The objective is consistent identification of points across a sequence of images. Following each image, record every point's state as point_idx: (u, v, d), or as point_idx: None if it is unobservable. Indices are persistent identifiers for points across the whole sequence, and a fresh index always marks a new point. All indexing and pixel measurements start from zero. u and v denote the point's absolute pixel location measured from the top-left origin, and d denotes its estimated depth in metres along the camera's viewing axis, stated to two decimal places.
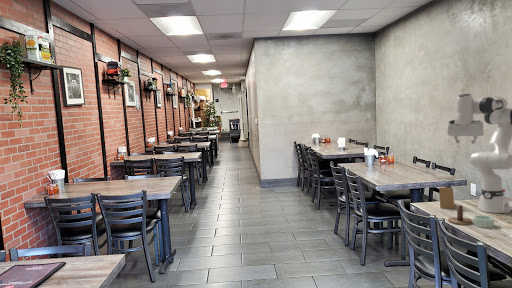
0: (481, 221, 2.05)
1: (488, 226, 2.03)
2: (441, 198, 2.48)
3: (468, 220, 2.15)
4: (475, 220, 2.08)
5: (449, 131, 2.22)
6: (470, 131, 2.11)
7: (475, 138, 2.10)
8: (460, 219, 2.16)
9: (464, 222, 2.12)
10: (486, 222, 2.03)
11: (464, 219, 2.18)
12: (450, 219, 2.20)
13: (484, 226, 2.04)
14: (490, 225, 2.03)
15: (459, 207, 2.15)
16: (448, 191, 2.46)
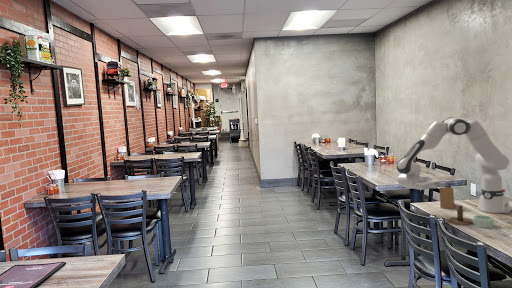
0: (481, 221, 2.05)
1: (488, 226, 2.03)
2: (441, 198, 2.48)
3: (468, 220, 2.15)
4: (475, 220, 2.08)
5: None
6: None
7: (430, 187, 2.25)
8: (460, 219, 2.16)
9: (464, 222, 2.12)
10: (486, 222, 2.03)
11: (464, 219, 2.18)
12: (450, 219, 2.20)
13: (484, 226, 2.04)
14: (490, 225, 2.03)
15: (459, 207, 2.15)
16: (448, 191, 2.46)
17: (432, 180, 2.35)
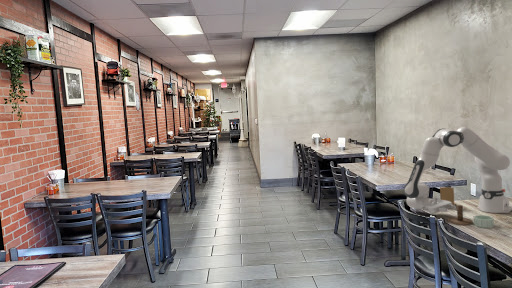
0: (481, 221, 2.05)
1: (488, 226, 2.03)
2: (442, 198, 2.49)
3: (468, 220, 2.15)
4: (475, 220, 2.08)
5: None
6: None
7: (440, 211, 2.21)
8: (460, 219, 2.16)
9: (464, 222, 2.12)
10: (486, 222, 2.03)
11: (464, 219, 2.18)
12: (450, 219, 2.20)
13: (484, 226, 2.04)
14: (490, 225, 2.03)
15: (459, 207, 2.15)
16: (448, 191, 2.46)
17: (442, 202, 2.31)
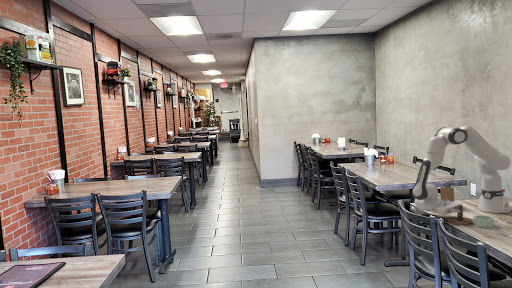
0: (481, 221, 2.05)
1: (488, 226, 2.03)
2: (442, 198, 2.49)
3: (468, 220, 2.15)
4: (475, 220, 2.08)
5: None
6: None
7: (452, 212, 2.17)
8: (460, 219, 2.16)
9: (464, 222, 2.12)
10: (486, 222, 2.03)
11: (464, 219, 2.18)
12: (450, 219, 2.20)
13: (484, 226, 2.04)
14: (490, 225, 2.03)
15: (459, 207, 2.15)
16: (449, 191, 2.47)
17: (452, 204, 2.26)
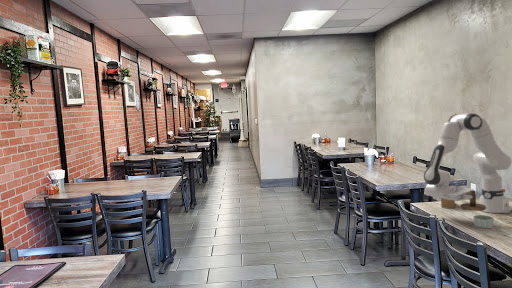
0: (481, 221, 2.05)
1: (488, 226, 2.03)
2: None
3: (481, 206, 2.10)
4: (475, 220, 2.08)
5: None
6: None
7: None
8: (473, 205, 2.10)
9: (477, 207, 2.07)
10: (486, 222, 2.03)
11: (477, 205, 2.12)
12: (462, 205, 2.14)
13: (484, 226, 2.04)
14: (490, 225, 2.03)
15: (472, 192, 2.10)
16: None
17: (464, 190, 2.20)
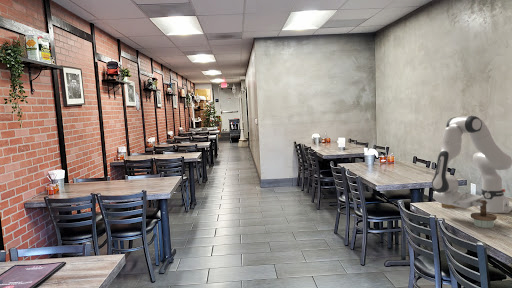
0: (481, 221, 2.05)
1: (488, 226, 2.03)
2: None
3: (492, 215, 2.06)
4: (475, 220, 2.08)
5: None
6: None
7: (475, 205, 2.07)
8: (483, 214, 2.07)
9: (488, 217, 2.03)
10: (486, 222, 2.03)
11: (487, 214, 2.09)
12: (472, 214, 2.11)
13: (484, 226, 2.04)
14: (490, 225, 2.03)
15: (482, 202, 2.06)
16: None
17: (474, 196, 2.16)
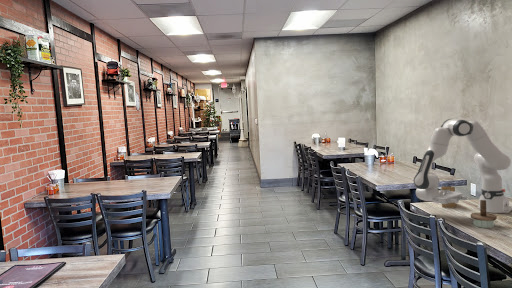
0: (481, 221, 2.05)
1: (488, 226, 2.03)
2: None
3: (492, 215, 2.06)
4: (475, 220, 2.08)
5: None
6: None
7: (451, 202, 2.17)
8: (483, 214, 2.07)
9: (488, 217, 2.03)
10: (486, 222, 2.03)
11: (487, 214, 2.09)
12: (472, 214, 2.11)
13: (484, 226, 2.04)
14: (490, 225, 2.03)
15: (482, 202, 2.06)
16: (450, 190, 2.48)
17: (453, 193, 2.27)
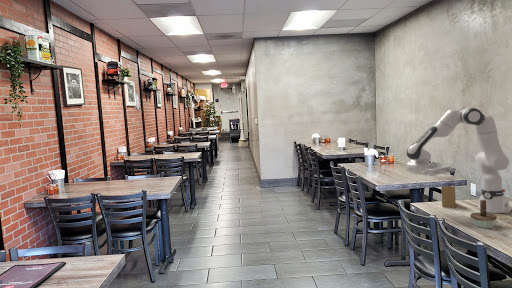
0: (481, 221, 2.05)
1: (488, 226, 2.03)
2: (443, 197, 2.50)
3: (492, 215, 2.06)
4: (475, 220, 2.08)
5: None
6: None
7: (439, 173, 2.24)
8: (483, 214, 2.07)
9: (488, 217, 2.03)
10: (486, 222, 2.03)
11: (487, 214, 2.09)
12: (472, 214, 2.11)
13: (484, 226, 2.04)
14: (490, 225, 2.03)
15: (482, 202, 2.06)
16: (450, 190, 2.48)
17: (442, 166, 2.34)
